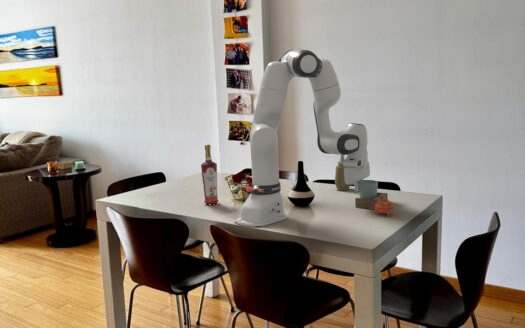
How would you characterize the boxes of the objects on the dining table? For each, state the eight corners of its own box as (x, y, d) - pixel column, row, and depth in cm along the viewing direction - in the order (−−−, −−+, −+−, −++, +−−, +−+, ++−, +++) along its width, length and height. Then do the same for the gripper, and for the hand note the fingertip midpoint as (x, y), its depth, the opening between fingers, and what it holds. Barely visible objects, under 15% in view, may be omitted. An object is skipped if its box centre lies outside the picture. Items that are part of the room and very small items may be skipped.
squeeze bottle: (331, 189, 249) (330, 154, 246) (342, 187, 254) (341, 152, 251) (344, 192, 242) (343, 155, 239) (354, 189, 248) (353, 153, 245)
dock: (375, 209, 208) (375, 200, 207) (355, 207, 213) (355, 198, 213) (387, 202, 219) (387, 193, 219) (368, 200, 225) (368, 191, 224)
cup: (377, 206, 214) (378, 183, 212) (359, 205, 215) (360, 183, 213) (376, 201, 221) (376, 179, 219) (358, 201, 222) (359, 179, 220)
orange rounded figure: (375, 217, 196) (374, 200, 197) (374, 216, 204) (372, 199, 205) (396, 216, 195) (395, 199, 196) (393, 215, 203) (392, 198, 203)
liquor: (218, 201, 236) (214, 143, 231) (220, 205, 229) (216, 145, 224) (202, 203, 234) (198, 144, 230) (204, 206, 227) (200, 146, 223)
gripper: (360, 155, 227) (360, 185, 230) (341, 163, 211) (341, 194, 213) (373, 156, 224) (373, 186, 226) (354, 164, 207) (355, 196, 210)
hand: (358, 190), depth 219 cm, fingers closed, pressing on cup
